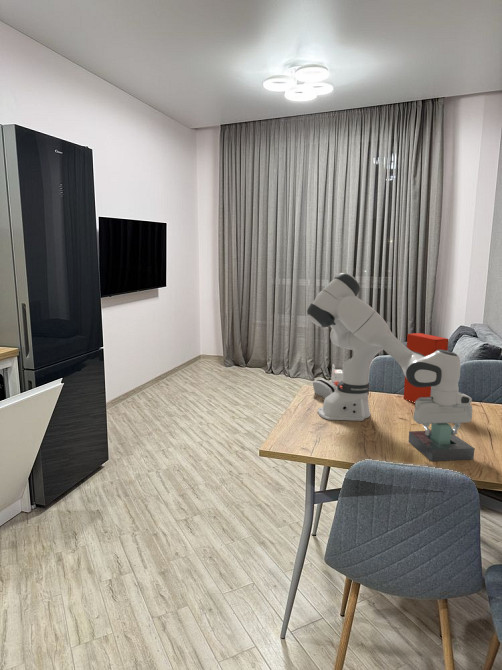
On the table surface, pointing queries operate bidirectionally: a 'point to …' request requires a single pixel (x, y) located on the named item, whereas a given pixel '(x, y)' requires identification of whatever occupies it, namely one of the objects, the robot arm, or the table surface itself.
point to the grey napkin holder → (323, 387)
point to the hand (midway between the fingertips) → (440, 434)
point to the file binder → (425, 347)
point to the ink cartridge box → (336, 376)
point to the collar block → (441, 447)
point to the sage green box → (441, 433)
